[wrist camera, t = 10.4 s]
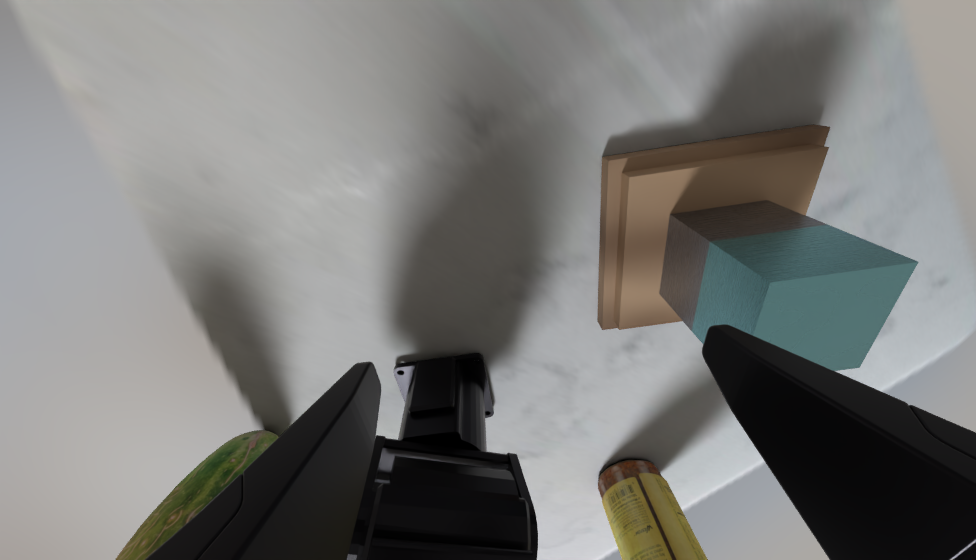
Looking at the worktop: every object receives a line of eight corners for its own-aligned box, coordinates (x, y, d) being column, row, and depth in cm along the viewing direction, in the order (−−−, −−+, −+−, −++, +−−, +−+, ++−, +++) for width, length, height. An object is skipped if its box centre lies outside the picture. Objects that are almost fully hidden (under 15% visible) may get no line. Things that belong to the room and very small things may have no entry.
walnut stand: (758, 298, 24) (781, 316, 22) (597, 320, 24) (607, 339, 22) (813, 124, 18) (849, 129, 16) (602, 156, 18) (615, 165, 17)
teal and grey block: (766, 199, 18) (918, 261, 12) (744, 281, 20) (859, 367, 14) (669, 214, 18) (770, 282, 12) (659, 293, 21) (737, 383, 15)
